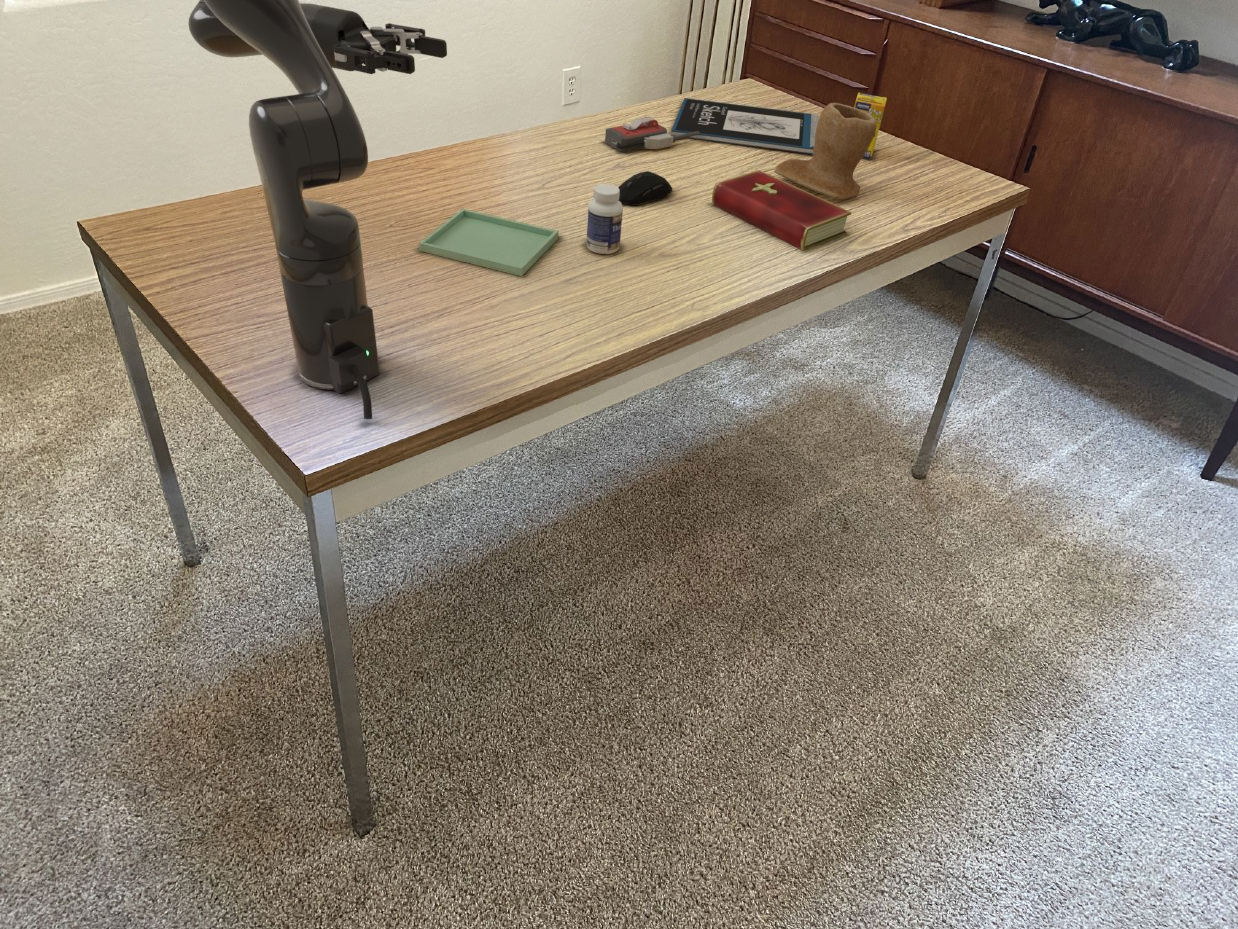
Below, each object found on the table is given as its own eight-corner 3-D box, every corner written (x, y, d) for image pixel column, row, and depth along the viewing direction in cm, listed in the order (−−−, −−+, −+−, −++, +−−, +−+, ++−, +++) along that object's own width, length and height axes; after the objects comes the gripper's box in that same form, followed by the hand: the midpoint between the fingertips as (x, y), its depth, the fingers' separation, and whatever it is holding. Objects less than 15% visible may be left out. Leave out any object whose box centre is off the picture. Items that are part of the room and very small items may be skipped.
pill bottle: (615, 257, 141) (620, 198, 135) (582, 252, 142) (585, 192, 136) (622, 242, 145) (627, 184, 139) (590, 237, 146) (593, 179, 140)
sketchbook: (683, 103, 201) (684, 94, 199) (817, 122, 198) (819, 112, 197) (670, 136, 184) (671, 125, 183) (816, 156, 182) (819, 146, 180)
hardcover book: (801, 251, 148) (807, 227, 145) (710, 205, 159) (714, 182, 157) (846, 233, 154) (852, 210, 152) (755, 190, 166) (759, 168, 163)
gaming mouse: (594, 200, 157) (595, 178, 154) (654, 182, 165) (656, 161, 163) (618, 213, 154) (619, 191, 151) (678, 194, 162) (681, 172, 159)
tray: (558, 238, 145) (558, 230, 144) (521, 276, 134) (521, 268, 133) (462, 215, 148) (462, 208, 148) (419, 250, 138) (419, 242, 137)
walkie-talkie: (624, 158, 173) (701, 141, 183) (626, 135, 170) (704, 119, 180) (597, 143, 178) (674, 127, 188) (599, 120, 175) (676, 106, 185)
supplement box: (841, 155, 183) (854, 100, 176) (844, 145, 188) (857, 91, 181) (871, 160, 182) (885, 105, 175) (873, 150, 187) (887, 96, 180)
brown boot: (872, 193, 169) (894, 112, 159) (835, 208, 162) (856, 125, 153) (808, 167, 177) (825, 88, 167) (770, 180, 170) (786, 99, 160)
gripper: (288, 17, 115) (399, 39, 112) (351, -4, 126) (454, 15, 122) (297, 78, 120) (404, 100, 116) (357, 52, 131) (456, 72, 127)
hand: (430, 56), depth 119 cm, fingers open, 8 cm apart
